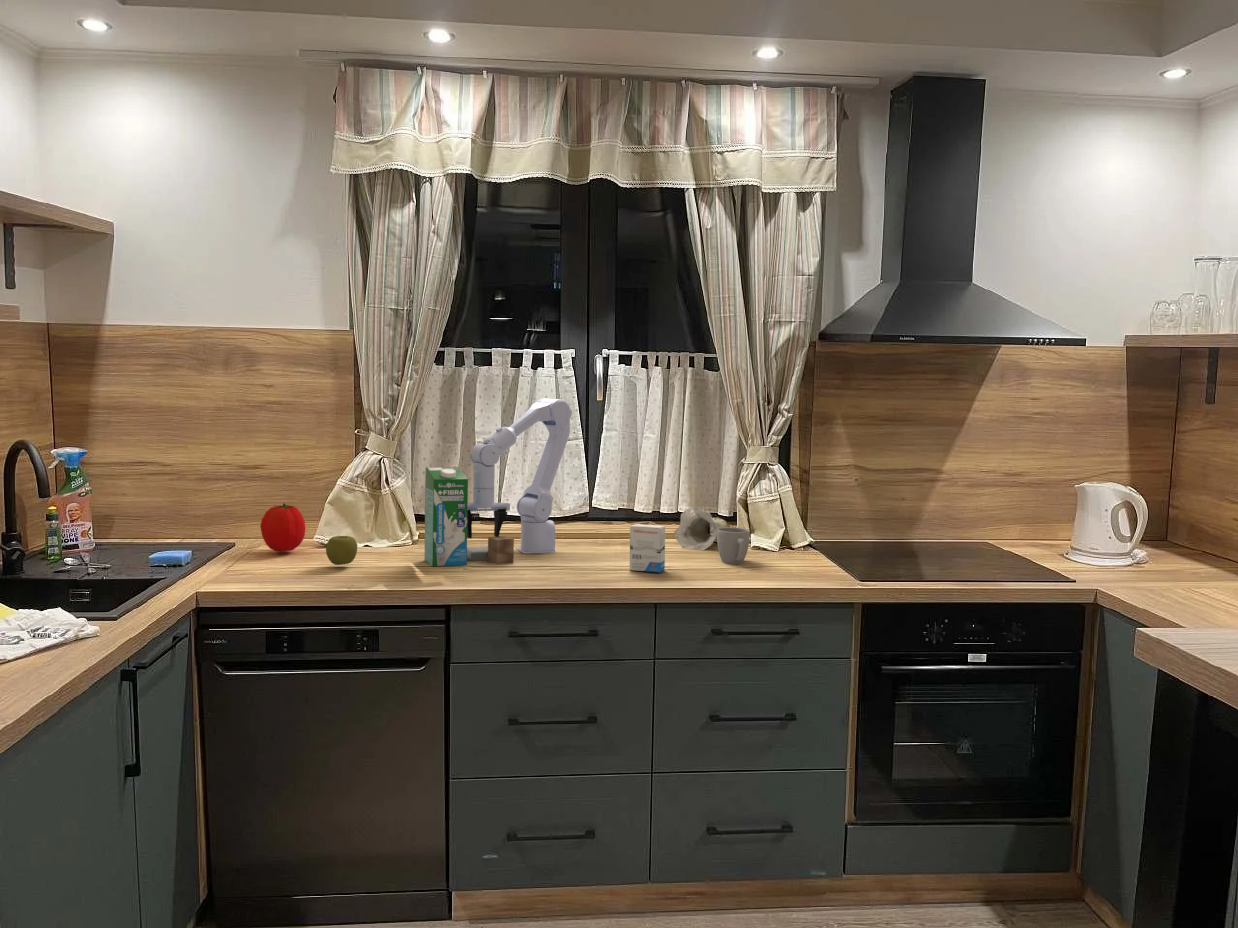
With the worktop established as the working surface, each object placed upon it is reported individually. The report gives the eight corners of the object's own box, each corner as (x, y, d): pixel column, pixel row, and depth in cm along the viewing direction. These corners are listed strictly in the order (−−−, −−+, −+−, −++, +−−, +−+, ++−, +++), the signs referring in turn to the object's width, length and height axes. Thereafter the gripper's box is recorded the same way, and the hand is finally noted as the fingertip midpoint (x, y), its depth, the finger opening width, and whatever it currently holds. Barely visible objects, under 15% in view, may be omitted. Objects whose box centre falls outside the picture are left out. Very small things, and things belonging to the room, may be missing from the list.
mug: (711, 561, 257) (712, 527, 256) (741, 561, 260) (742, 527, 259) (726, 570, 246) (728, 534, 245) (758, 569, 248) (759, 534, 247)
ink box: (665, 569, 244) (666, 525, 243) (659, 573, 240) (661, 528, 239) (634, 566, 247) (635, 522, 246) (628, 570, 243) (629, 525, 242)
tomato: (305, 546, 262) (305, 500, 261) (305, 554, 250) (305, 506, 249) (261, 547, 258) (261, 500, 257) (259, 556, 247) (259, 506, 246)
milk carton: (432, 566, 239) (433, 470, 237) (424, 560, 248) (425, 466, 245) (466, 564, 243) (468, 469, 241) (457, 558, 251) (458, 466, 249)
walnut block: (504, 559, 252) (504, 535, 252) (513, 562, 248) (513, 538, 247) (487, 561, 249) (488, 537, 249) (496, 564, 245) (497, 540, 245)
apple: (345, 568, 234) (345, 540, 234) (319, 565, 237) (319, 537, 237) (363, 563, 242) (363, 535, 241) (337, 560, 244) (337, 533, 244)
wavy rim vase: (704, 558, 267) (726, 561, 283) (721, 517, 266) (743, 522, 282) (669, 542, 272) (693, 545, 288) (686, 501, 271) (709, 507, 287)
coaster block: (494, 554, 261) (494, 545, 261) (503, 560, 253) (503, 551, 252) (462, 556, 257) (462, 546, 257) (470, 562, 249) (470, 552, 249)
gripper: (505, 485, 260) (504, 533, 261) (454, 486, 254) (453, 535, 255) (512, 488, 254) (511, 537, 255) (460, 489, 248) (459, 540, 249)
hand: (483, 537), depth 255 cm, fingers open, 7 cm apart
